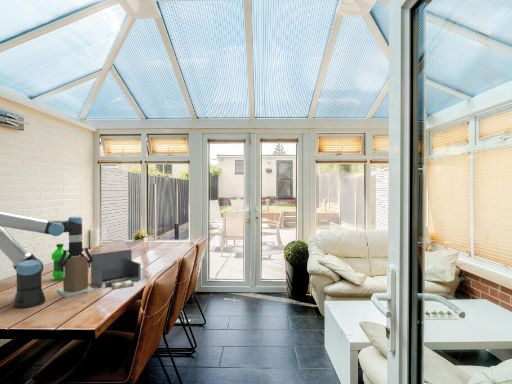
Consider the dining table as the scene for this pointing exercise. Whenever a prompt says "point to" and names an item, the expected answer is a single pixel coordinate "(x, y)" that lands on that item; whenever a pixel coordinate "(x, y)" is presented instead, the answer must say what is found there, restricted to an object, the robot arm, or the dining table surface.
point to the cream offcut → (122, 284)
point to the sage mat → (71, 293)
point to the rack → (114, 267)
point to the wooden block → (76, 274)
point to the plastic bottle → (56, 257)
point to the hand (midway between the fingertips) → (75, 274)
